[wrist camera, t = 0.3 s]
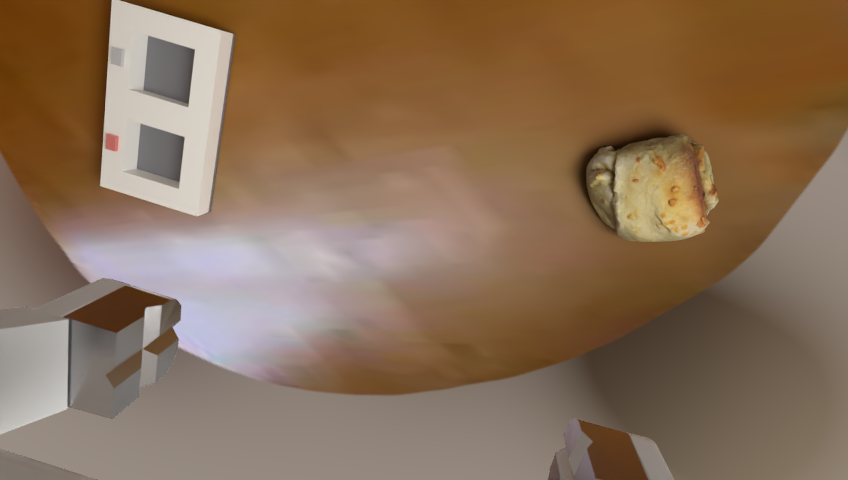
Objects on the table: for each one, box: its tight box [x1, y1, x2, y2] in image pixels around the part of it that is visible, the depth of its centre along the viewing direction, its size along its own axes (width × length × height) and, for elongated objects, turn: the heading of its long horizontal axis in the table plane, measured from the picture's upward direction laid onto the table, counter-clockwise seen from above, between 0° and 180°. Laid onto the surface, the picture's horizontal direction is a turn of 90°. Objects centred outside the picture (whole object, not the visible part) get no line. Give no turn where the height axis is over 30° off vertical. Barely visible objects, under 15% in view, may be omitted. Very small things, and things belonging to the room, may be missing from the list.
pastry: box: [586, 134, 719, 242], centre depth 49 cm, size 14×12×8 cm
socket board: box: [100, 0, 235, 216], centre depth 56 cm, size 22×13×4 cm, turn 164°
